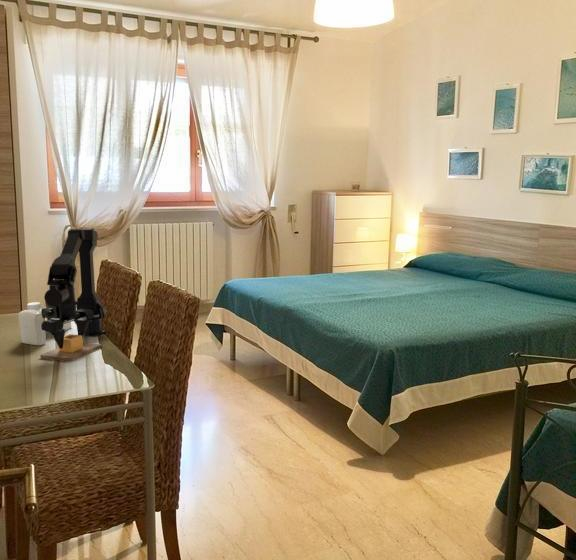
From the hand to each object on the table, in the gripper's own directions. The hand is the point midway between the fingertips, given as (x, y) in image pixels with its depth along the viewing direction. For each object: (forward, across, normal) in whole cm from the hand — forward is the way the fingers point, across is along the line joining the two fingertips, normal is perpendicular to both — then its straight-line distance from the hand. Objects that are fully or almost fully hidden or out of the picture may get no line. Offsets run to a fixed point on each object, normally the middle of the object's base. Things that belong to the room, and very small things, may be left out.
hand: (71, 344), depth 205 cm
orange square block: (+2, 0, 0) cm, 2 cm away
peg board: (+3, 0, 0) cm, 3 cm away
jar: (+3, -22, -27) cm, 35 cm away
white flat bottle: (+3, -4, -22) cm, 23 cm away
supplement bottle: (+3, -11, -27) cm, 29 cm away
